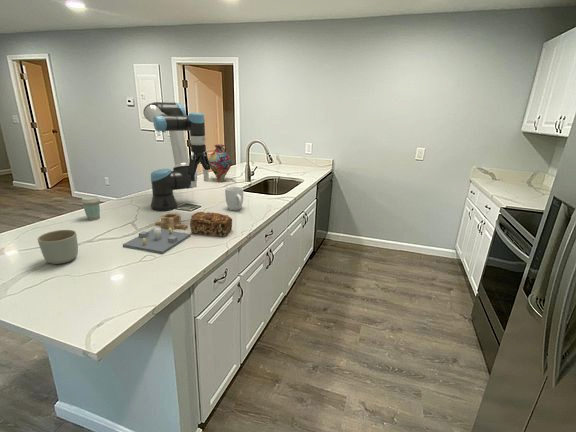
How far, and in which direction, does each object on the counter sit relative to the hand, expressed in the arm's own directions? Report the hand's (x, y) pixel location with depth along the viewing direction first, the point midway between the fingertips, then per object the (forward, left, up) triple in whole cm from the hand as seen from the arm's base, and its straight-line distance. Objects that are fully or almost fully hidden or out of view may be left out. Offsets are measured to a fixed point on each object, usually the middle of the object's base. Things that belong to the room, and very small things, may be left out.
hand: (200, 184), depth 170 cm
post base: (-3, -33, -21) cm, 39 cm away
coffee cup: (-55, -20, -21) cm, 62 cm away
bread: (+14, -14, -21) cm, 28 cm away
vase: (-36, +89, -21) cm, 98 cm away
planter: (-26, -62, -21) cm, 70 cm away
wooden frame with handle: (-9, -15, -21) cm, 27 cm away
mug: (+8, +24, -21) cm, 33 cm away
